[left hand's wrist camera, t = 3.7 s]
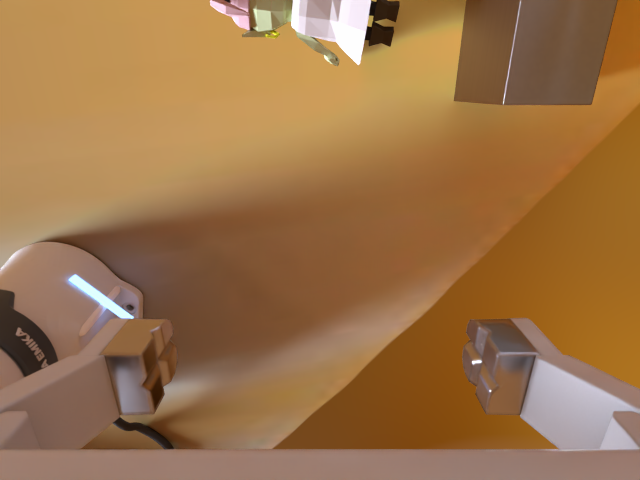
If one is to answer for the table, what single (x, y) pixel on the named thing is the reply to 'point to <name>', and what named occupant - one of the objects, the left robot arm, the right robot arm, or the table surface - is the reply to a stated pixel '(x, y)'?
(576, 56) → the box
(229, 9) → the figurine
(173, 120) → the table surface
